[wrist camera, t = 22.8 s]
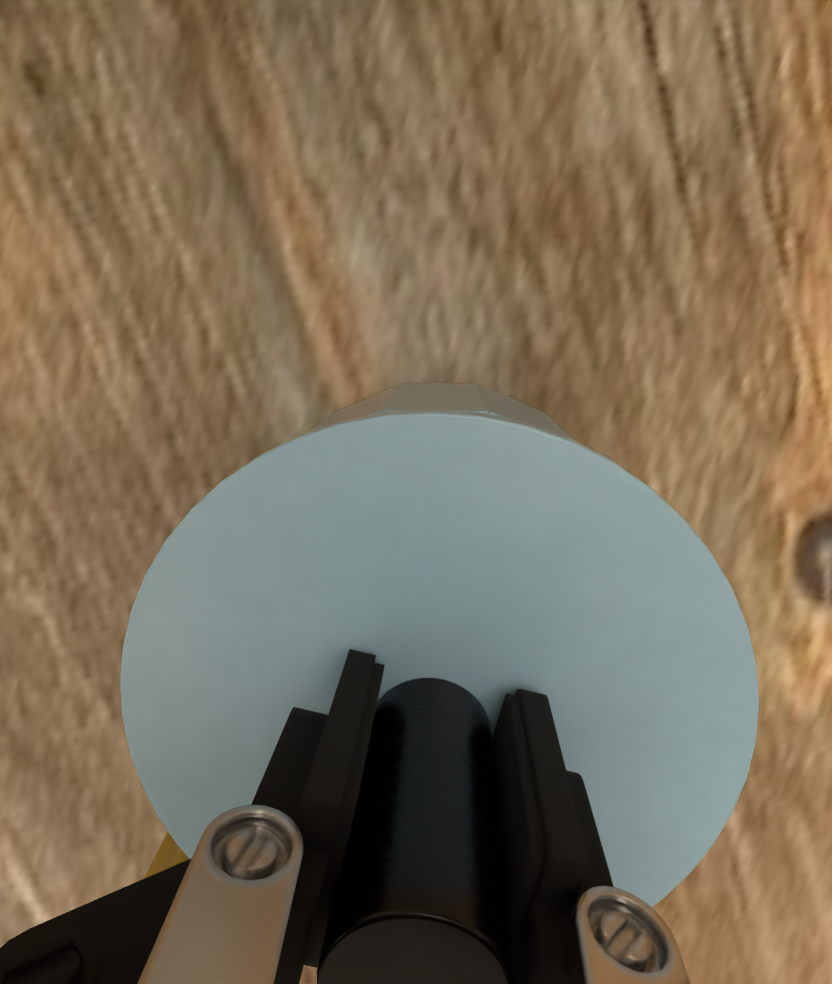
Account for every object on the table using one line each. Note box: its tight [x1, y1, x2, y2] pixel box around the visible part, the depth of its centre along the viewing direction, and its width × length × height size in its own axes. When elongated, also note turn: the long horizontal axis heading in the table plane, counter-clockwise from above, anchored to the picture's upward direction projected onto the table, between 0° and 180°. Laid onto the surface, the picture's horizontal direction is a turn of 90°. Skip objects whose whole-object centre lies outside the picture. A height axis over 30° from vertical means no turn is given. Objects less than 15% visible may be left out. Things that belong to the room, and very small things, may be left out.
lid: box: [120, 409, 759, 984], centre depth 10 cm, size 13×13×6 cm
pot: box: [310, 382, 572, 439], centre depth 18 cm, size 12×12×6 cm
